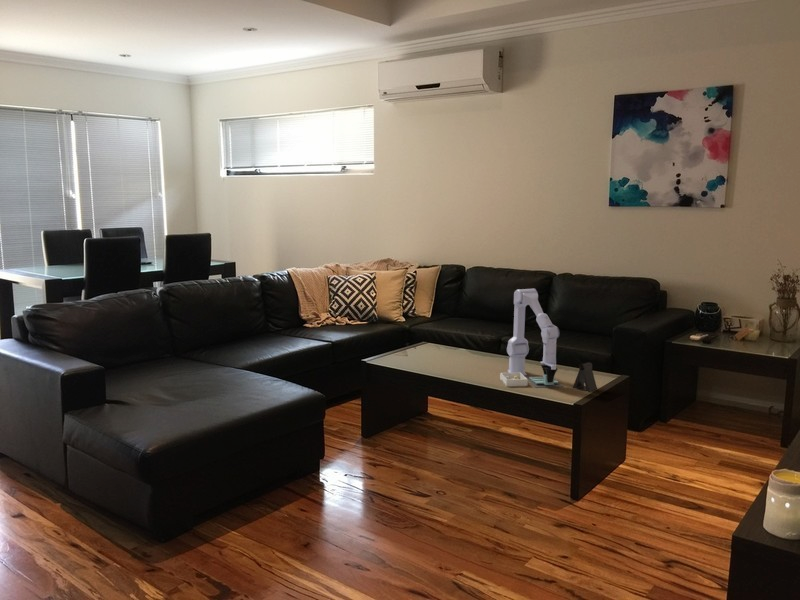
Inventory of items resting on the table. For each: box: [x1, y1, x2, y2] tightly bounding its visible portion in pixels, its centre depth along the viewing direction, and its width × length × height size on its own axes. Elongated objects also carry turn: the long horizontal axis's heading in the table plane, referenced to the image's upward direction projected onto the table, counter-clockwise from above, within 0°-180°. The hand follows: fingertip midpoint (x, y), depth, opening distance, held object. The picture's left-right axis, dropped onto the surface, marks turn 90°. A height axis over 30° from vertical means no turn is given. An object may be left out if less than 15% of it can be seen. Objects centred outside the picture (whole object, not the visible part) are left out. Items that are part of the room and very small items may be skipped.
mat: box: [525, 376, 564, 389], centre depth 321 cm, size 18×13×1 cm
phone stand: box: [572, 361, 598, 393], centre depth 309 cm, size 9×6×12 cm, turn 40°
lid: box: [528, 374, 560, 385], centre depth 319 cm, size 17×11×4 cm, turn 4°
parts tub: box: [499, 372, 529, 387], centre depth 320 cm, size 13×10×3 cm
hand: (548, 381), depth 313 cm, fingers closed on lid, 3 cm apart
